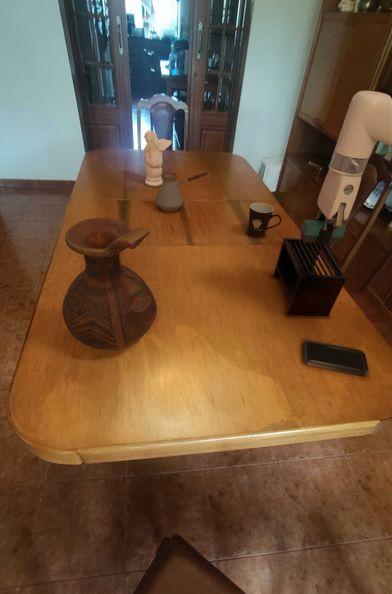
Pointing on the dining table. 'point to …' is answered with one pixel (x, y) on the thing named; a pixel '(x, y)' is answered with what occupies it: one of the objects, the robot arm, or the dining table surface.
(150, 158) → the cherub figurine
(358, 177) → the robot arm
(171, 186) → the coffee pot
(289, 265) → the rack
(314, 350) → the phone
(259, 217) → the coffee mug
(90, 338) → the jug
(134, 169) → the dining table surface
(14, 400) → the dining table surface
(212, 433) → the dining table surface
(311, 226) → the teal rectangular block
